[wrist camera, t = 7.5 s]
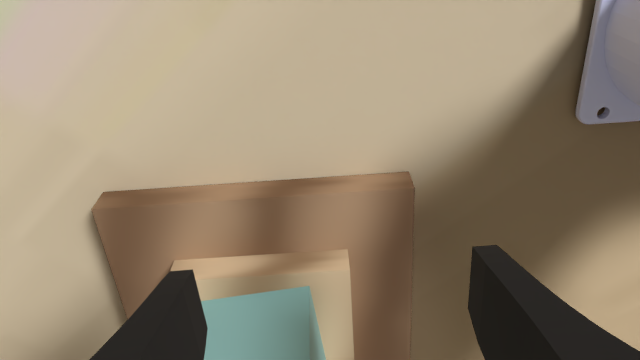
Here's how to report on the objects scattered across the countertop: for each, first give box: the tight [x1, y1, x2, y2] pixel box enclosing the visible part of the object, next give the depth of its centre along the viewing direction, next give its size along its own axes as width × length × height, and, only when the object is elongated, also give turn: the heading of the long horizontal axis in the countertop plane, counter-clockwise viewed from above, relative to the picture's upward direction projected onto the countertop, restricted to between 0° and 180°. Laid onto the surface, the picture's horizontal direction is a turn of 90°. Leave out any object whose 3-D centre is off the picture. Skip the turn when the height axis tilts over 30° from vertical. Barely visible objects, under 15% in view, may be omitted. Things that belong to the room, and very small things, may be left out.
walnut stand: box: [91, 172, 415, 360], centre depth 26 cm, size 14×14×3 cm
